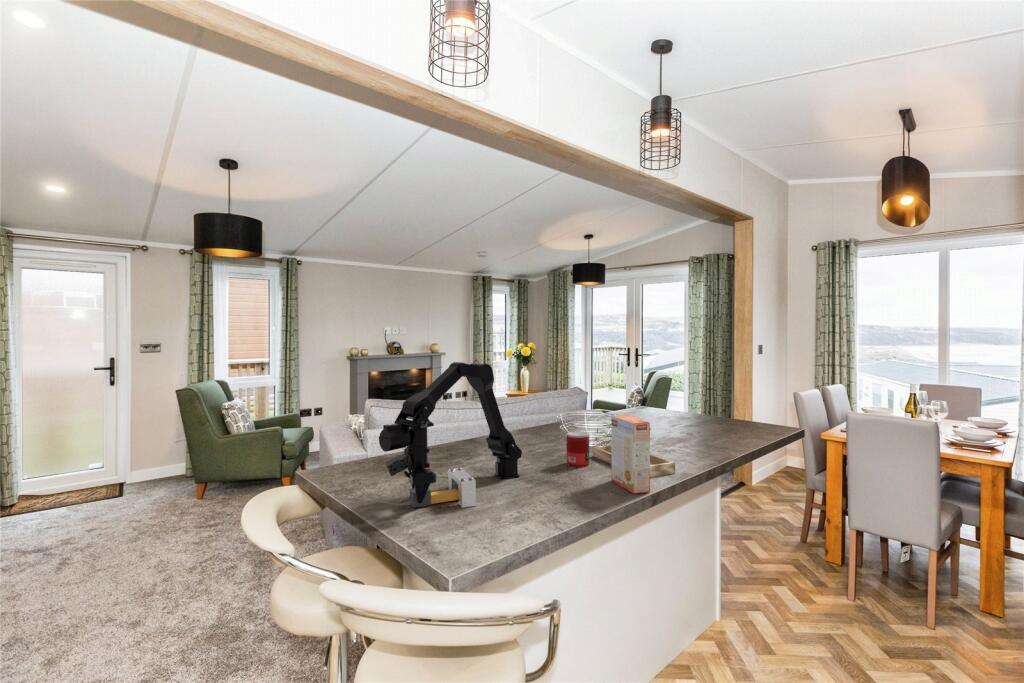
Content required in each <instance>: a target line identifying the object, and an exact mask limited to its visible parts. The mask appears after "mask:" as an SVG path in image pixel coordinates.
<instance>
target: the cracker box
mask: <svg viewBox="0 0 1024 683" xmlns="http://www.w3.org/2000/svg"><path fill="white" fill-rule="evenodd" d="M610 427H611V429H610V430H611V445H612V464H611V481H612V482H614V483H616V484H617V485H619V486H621V487H622V488H623V489H625V490H626V491H628V492H629V493H631V494H633V495H634V494H636V495H637V494H644V493H645V494H646V493H651V477H650V454H651V422H650V421H648V420H643V419H642V418H638V417H635V416H631V415H629V414H616V415H615V414H614V415H611V426H610Z"/></svg>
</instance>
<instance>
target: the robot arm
mask: <svg viewBox="0 0 1024 683" xmlns="http://www.w3.org/2000/svg"><path fill="white" fill-rule="evenodd" d="M493 370H494V369H493V368H492V365H489V364H488V363H476V362H475V363H470V364H469V363H466V362H463V361H462V362H461V361H454V362H452V363H450V364H449V366H448V368H447V369H446V370H444V371H443V372H442V373H441V374H440V375H439V376H438V377H437V378H436V379H434V380H433V381H432V382H431V384H429V386H427V387H426V388H425V389H423V390H422V391H420V392H418V393H415V394H413V395H411V396H410V397H408V398H407V399H405V400H404V402H403V403H402V406H401V407H402V408H401V410H400V412H399V413H398V414H397V417H396V419H395V421H394V422H393V423H391V424H388V423H387V424H383V426H382V430H381V431H380V433H379V436H378V444H379V447H380V449H381V450H382V451H383V452H391V451H394V450H399V449H403V452H404V453H401V454H398V455H397V456H394V457H392V458H390V459H388V460H386V461H385V462H384V464H385V466H386V469H387V471H388V473H389V476H391V477H393V476H396V475H397V474H399V473H400V472H402V471H403V474H404V475H405V477H407V478H408V482H409V483H410V485H411V489H412V488H415V492H416V497H417V502H418V504H419V503H422V501H423V499H424V497H425V494H426V492H427V490H428V488H429V489H430V485H431V484H434V483H436V482H437V474H436V473H435V472H434V471H433V469H431V468H430V463H429V453H430V448H429V446H428V443H429V442H428V428H430V427H434V426H435V424H434V423H433V422H432V421H430V419H429V417H430V416H431V415H432V414H433V412H434V411H435V409H436V405H437V403H438V401H439V400H440V399H441V398H442V397H443V396H444V395H445V394H447V392H448V391H449V390H451V388H452V387H453V386H454V385H455V384H456V383H458V381H459V380H460V379H462V378H463V377H464V378H465V379H466V380H467V382H468V384H469V386H470V387H471V388H472V389H473V390H475V392H476V393H477V397H478V400H479V402H480V404H481V409H482V410H483V414H484V416H485V417H484V418H485V420H486V423H487V426H488V428H489V434H488V436H487V437H486V438H485V442H486V443H487V448H488V449H489V450H490V451H491V453H492V456H493V457H496V461H495V463H494V465H495V468H494V470H495V471H494V472H495V473H494V475H496V476H497V477H498V478H499V479H501V480H505V479H511V478H519V477H521V475H520V474H519V473H518V470H519V469H518V460H519V459H521V458H522V455H523V454H522V453H523V450H522V449H521V448H520V447H519V446H518V445H517V443H516V440H515V437H513V434H512V432H511V431H510V430H508V429H507V428H506V426H505V424H504V421H503V418H502V414H501V411H500V409H499V408H500V407H499V405H498V402H497V398H496V395H495V392H494V390H493V387H494V382H495V378H494V377H495V376H494V371H493Z"/></svg>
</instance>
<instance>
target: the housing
mask: <svg viewBox="0 0 1024 683" xmlns="http://www.w3.org/2000/svg"><path fill="white" fill-rule="evenodd" d="M447 473H448V475H447V478H448V480H447V481H448V490H451V489H455V485H458V500H457V501H458V505H459V506H460V507H461V509H464V508H470V507H477V484H476V483H477V480H476V479H474V477H472V476H471V474H469V473H468V472H467V471H466V470H465V469H464V468H463V467H453V468H448V469H447Z"/></svg>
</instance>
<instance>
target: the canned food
mask: <svg viewBox="0 0 1024 683" xmlns="http://www.w3.org/2000/svg"><path fill="white" fill-rule="evenodd" d="M566 463H567V465H568V466H569V467H574V468H585V467H588V466H589V465H590V434H589V432H587V431H576V430H575V431H569V432H567V433H566Z"/></svg>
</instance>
